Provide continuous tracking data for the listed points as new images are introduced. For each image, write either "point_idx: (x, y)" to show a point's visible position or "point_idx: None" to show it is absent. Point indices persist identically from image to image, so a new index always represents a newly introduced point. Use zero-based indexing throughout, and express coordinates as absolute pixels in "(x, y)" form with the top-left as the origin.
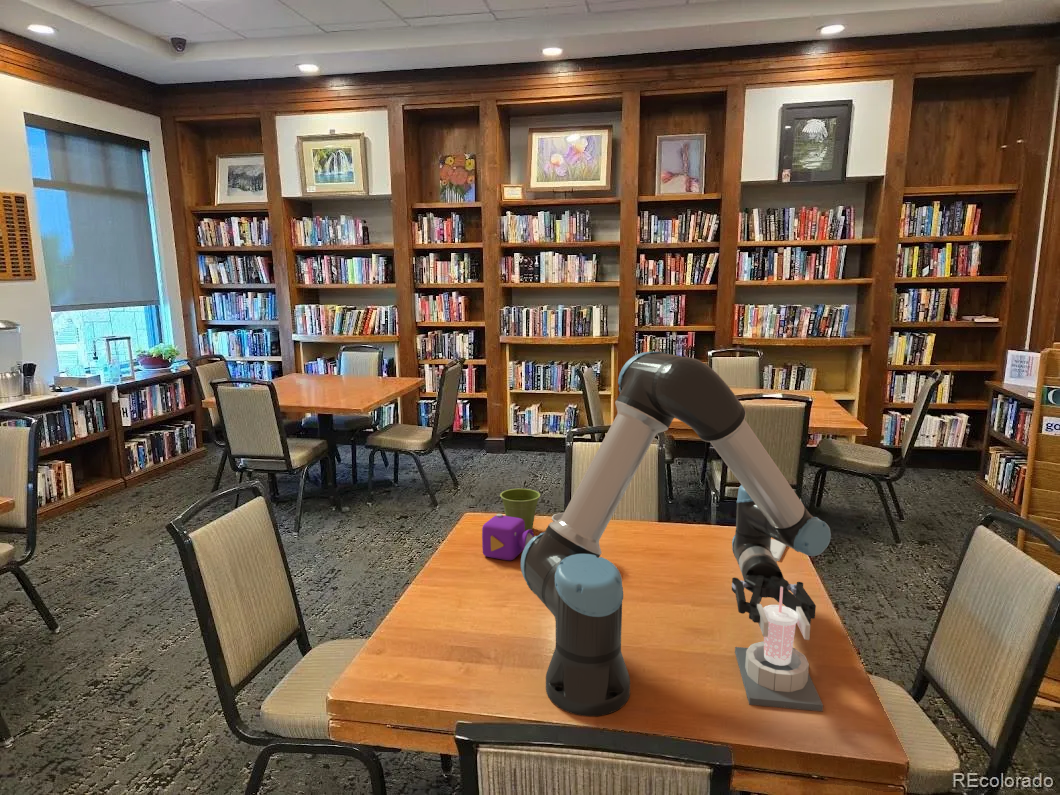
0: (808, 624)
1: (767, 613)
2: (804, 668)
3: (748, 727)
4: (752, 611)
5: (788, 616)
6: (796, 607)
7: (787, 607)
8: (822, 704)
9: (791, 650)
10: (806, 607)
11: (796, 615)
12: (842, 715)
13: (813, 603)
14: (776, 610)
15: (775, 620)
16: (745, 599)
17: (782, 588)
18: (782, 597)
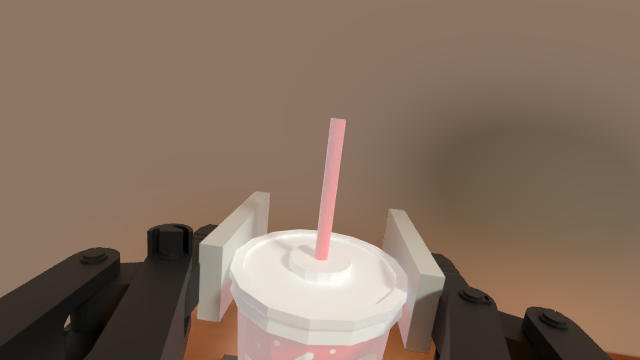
0: (258, 193)
1: (382, 270)
2: None
3: (396, 336)
4: (456, 271)
5: (289, 250)
6: (225, 246)
7: (253, 291)
8: (224, 355)
9: None
10: (134, 275)
11: (249, 246)
12: (185, 357)
13: (64, 265)
14: (337, 263)
15: (355, 239)
16: (536, 323)
17: (335, 122)
18: (325, 176)
